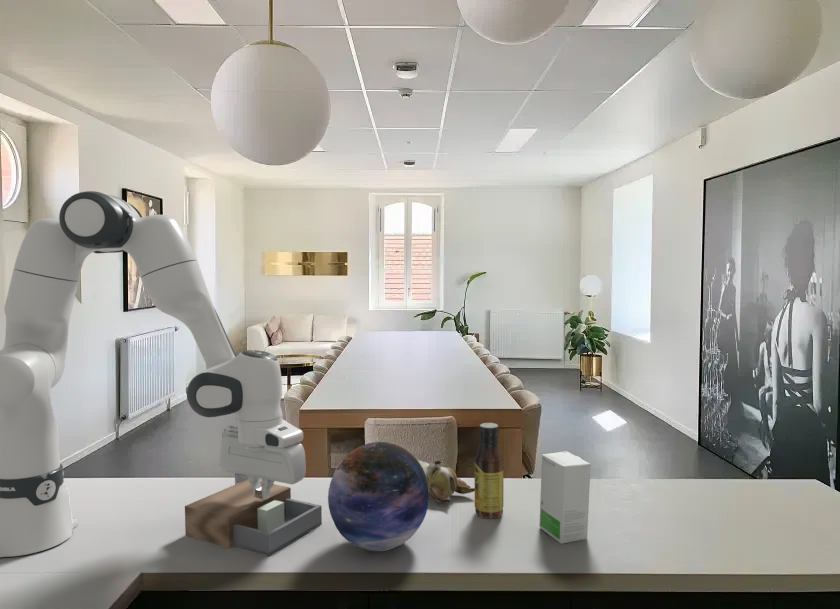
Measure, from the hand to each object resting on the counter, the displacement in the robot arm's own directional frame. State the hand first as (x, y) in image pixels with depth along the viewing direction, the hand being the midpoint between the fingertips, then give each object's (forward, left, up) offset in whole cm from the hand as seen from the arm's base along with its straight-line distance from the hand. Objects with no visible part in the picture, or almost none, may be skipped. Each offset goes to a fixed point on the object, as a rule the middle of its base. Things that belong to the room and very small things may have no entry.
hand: (261, 497), depth 127 cm
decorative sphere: (+25, +5, -7) cm, 26 cm away
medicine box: (-17, +15, -7) cm, 24 cm away
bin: (+4, 0, -7) cm, 8 cm away
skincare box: (+55, +27, -7) cm, 62 cm away
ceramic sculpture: (+24, +34, -7) cm, 42 cm away
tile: (+1, 0, -4) cm, 4 cm away
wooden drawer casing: (-6, 0, -7) cm, 9 cm away
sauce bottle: (+38, +29, -7) cm, 48 cm away
